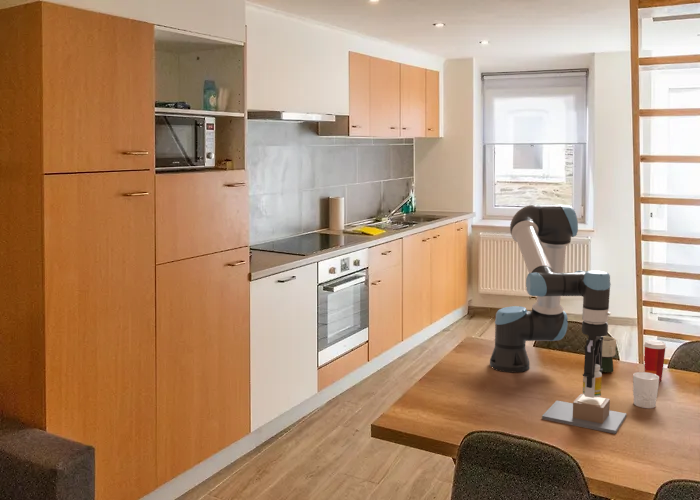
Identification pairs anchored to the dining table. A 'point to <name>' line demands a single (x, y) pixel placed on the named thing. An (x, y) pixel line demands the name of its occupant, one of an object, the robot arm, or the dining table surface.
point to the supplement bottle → (597, 381)
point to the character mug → (608, 353)
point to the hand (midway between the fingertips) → (591, 393)
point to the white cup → (645, 389)
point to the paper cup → (654, 357)
